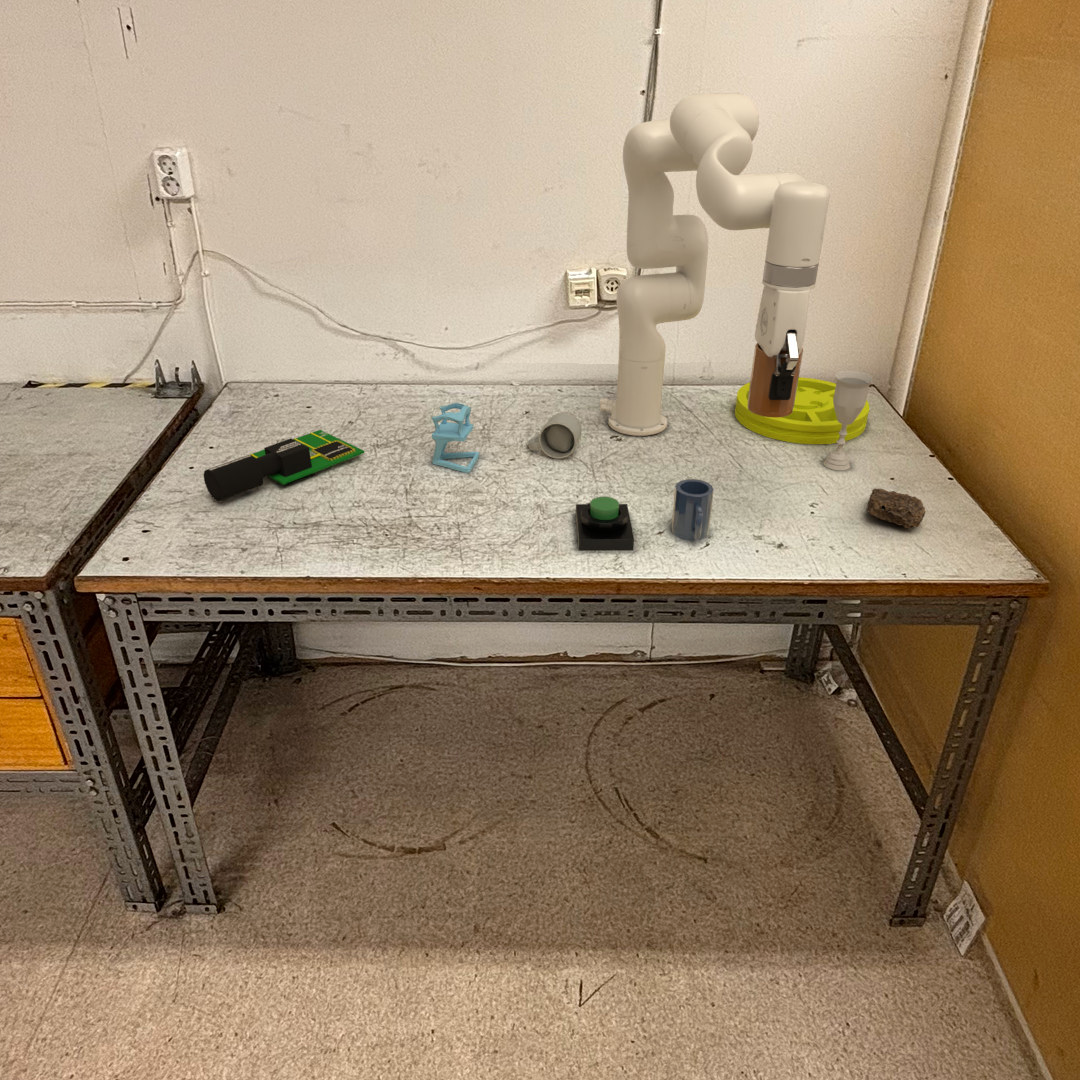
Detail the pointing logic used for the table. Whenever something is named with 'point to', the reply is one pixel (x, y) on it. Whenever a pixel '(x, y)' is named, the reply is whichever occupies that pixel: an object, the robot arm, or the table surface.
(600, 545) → the button box
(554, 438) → the ceramic mug
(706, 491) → the mug
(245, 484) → the circuit board with cylinder
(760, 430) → the pulley
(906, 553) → the table surface
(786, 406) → the glass
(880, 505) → the concrete sample
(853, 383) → the chalice
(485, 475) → the table surface
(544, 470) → the table surface
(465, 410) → the chair
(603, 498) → the button
